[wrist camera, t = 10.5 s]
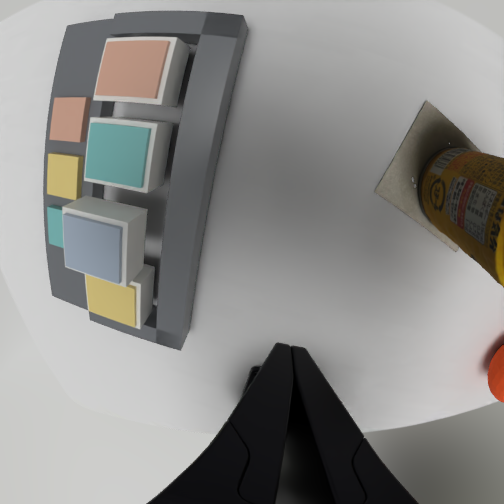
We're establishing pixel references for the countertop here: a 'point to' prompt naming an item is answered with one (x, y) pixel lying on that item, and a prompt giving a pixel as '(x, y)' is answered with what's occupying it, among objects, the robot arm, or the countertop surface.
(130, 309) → the key mustard
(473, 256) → the condiment
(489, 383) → the clementine
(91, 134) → the key teal
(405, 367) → the countertop surface
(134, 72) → the block
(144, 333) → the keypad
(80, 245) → the key slate
